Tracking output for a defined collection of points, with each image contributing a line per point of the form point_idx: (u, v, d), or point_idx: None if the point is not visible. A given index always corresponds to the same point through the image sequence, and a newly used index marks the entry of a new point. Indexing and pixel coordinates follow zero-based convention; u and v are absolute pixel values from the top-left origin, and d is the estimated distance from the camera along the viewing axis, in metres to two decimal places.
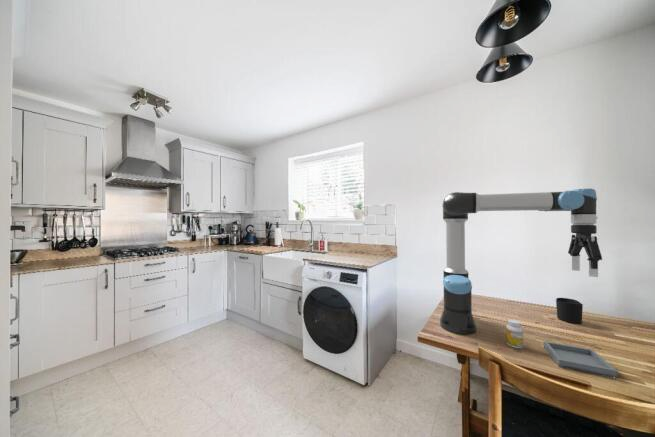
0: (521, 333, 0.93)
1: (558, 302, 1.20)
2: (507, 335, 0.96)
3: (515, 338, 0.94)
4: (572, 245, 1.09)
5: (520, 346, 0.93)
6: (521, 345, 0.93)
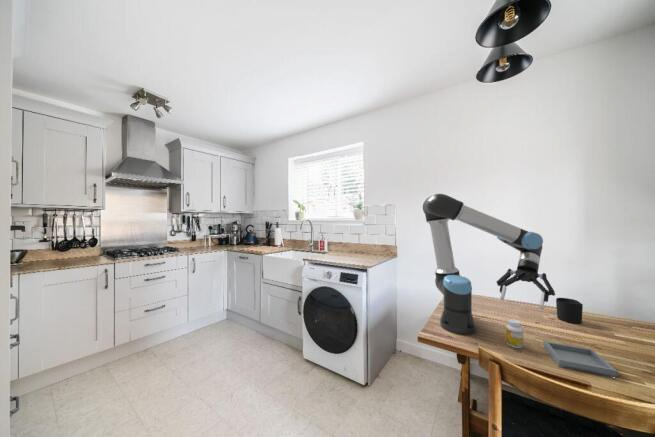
0: (521, 333, 0.93)
1: (558, 302, 1.20)
2: (507, 335, 0.96)
3: (515, 338, 0.94)
4: (505, 277, 1.13)
5: (520, 346, 0.93)
6: (521, 345, 0.93)
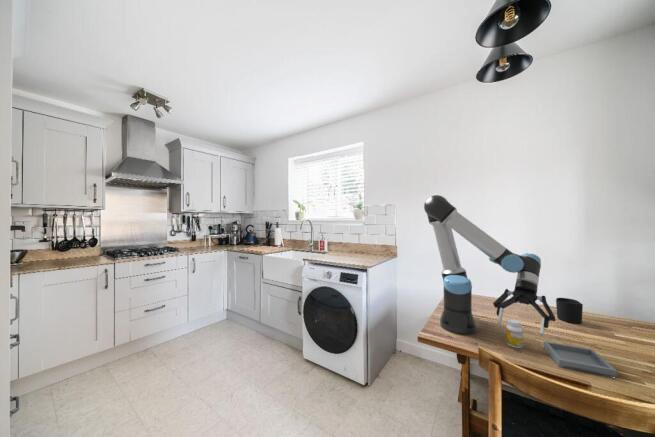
0: (521, 333, 0.93)
1: (558, 302, 1.20)
2: (507, 335, 0.96)
3: (515, 338, 0.94)
4: (502, 298, 1.06)
5: (520, 346, 0.93)
6: (521, 345, 0.93)
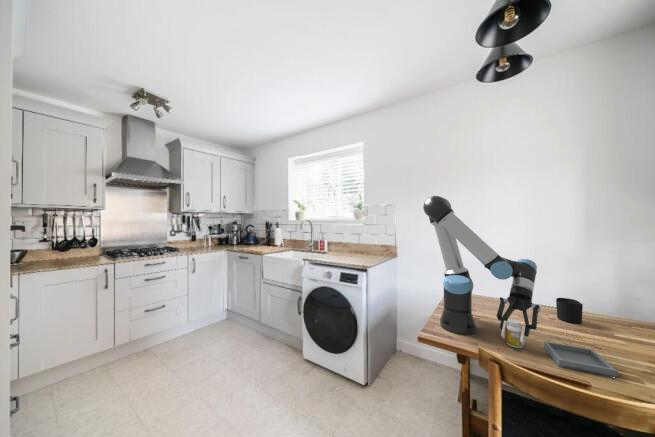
0: None
1: (558, 302, 1.20)
2: (507, 335, 0.96)
3: (515, 338, 0.94)
4: (502, 308, 1.02)
5: (520, 346, 0.93)
6: (521, 345, 0.93)
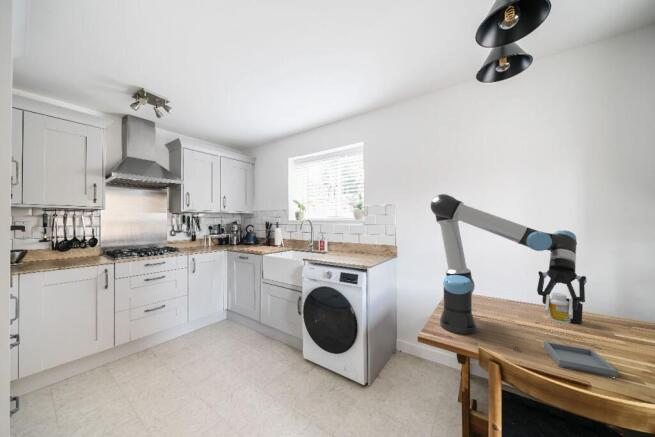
0: (568, 306, 0.85)
1: None
2: (551, 310, 0.88)
3: (561, 312, 0.85)
4: (542, 282, 0.94)
5: (568, 321, 0.85)
6: (568, 320, 0.85)
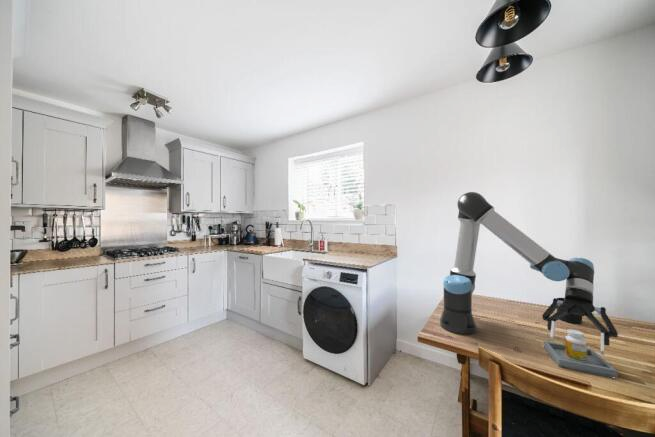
0: (585, 345, 0.82)
1: None
2: (567, 347, 0.85)
3: (577, 351, 0.83)
4: (552, 309, 0.93)
5: (584, 360, 0.82)
6: (585, 359, 0.82)
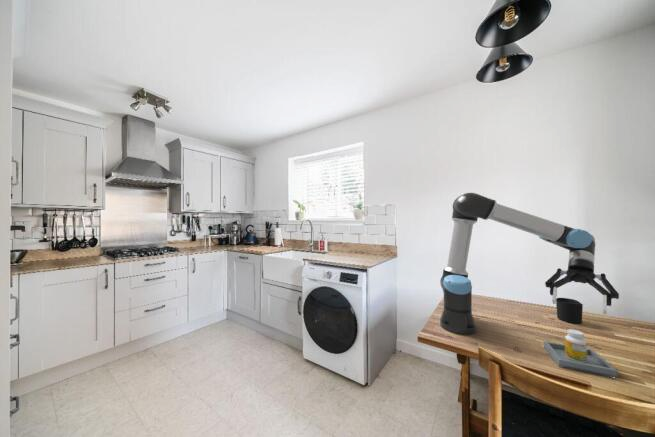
0: (585, 346, 0.82)
1: (558, 302, 1.20)
2: (567, 347, 0.85)
3: (577, 351, 0.83)
4: (555, 277, 1.02)
5: (584, 361, 0.82)
6: (585, 359, 0.82)
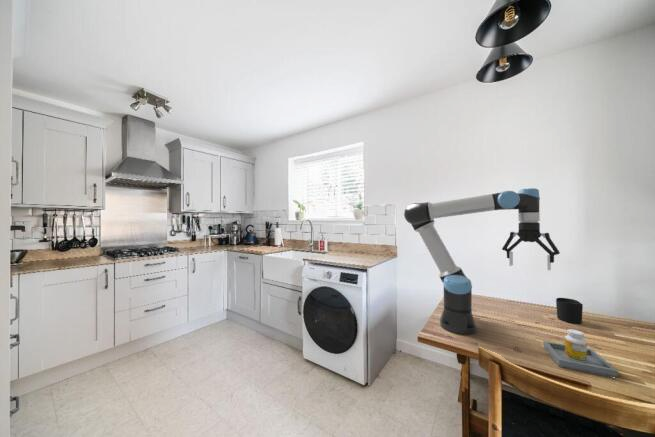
0: (585, 346, 0.82)
1: (558, 302, 1.20)
2: (567, 347, 0.85)
3: (577, 351, 0.83)
4: (509, 242, 1.14)
5: (584, 361, 0.82)
6: (585, 359, 0.82)
